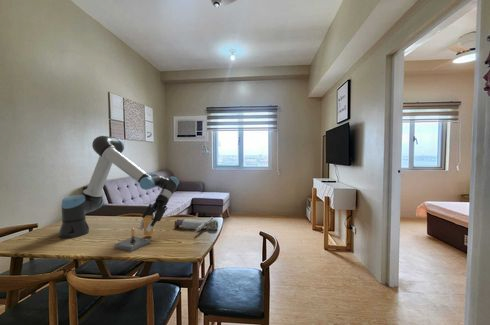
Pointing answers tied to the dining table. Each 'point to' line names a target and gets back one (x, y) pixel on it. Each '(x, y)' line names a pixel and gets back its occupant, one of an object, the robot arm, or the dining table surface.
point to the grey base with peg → (132, 242)
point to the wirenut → (146, 222)
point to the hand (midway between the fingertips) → (143, 230)
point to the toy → (197, 224)
